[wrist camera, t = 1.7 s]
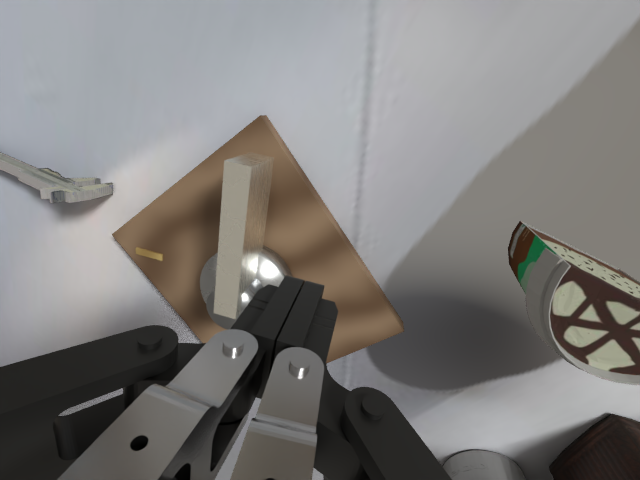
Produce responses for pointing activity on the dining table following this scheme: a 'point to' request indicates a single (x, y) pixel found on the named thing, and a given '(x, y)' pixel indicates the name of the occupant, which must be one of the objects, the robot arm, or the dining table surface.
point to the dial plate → (280, 235)
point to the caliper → (55, 182)
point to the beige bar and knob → (241, 241)
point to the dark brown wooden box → (602, 452)
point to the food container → (579, 304)
